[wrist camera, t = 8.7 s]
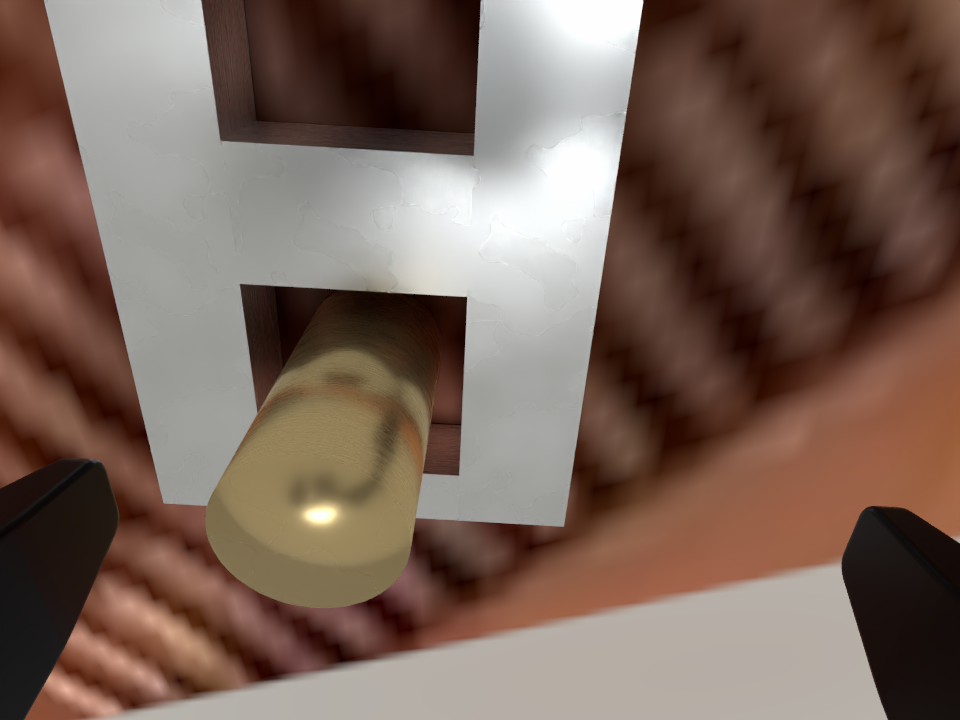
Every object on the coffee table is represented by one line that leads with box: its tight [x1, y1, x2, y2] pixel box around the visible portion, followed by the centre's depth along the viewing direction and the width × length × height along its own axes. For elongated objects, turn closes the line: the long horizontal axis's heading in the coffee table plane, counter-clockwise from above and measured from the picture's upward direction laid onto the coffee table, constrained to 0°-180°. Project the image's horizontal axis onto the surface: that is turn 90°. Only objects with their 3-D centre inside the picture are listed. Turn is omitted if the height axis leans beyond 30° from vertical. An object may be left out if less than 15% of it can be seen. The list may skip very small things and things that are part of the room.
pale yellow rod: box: [205, 290, 442, 608], centre depth 17 cm, size 4×4×8 cm
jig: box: [44, 0, 643, 527], centre depth 17 cm, size 12×18×2 cm, turn 177°
